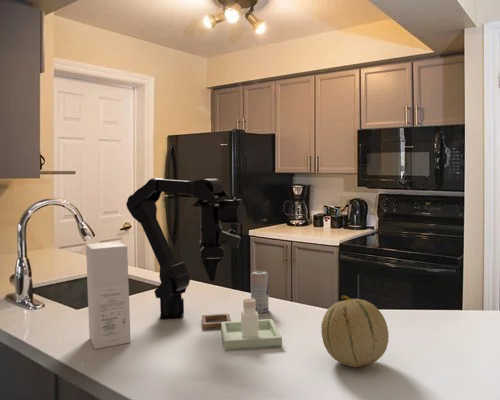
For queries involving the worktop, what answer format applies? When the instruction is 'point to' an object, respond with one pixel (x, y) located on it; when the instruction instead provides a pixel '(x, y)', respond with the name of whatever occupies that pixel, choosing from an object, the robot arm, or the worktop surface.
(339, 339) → the cantaloupe
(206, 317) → the holder
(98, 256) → the tall white carton
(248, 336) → the salt shaker
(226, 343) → the tray
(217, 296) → the worktop surface
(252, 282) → the energy drink
